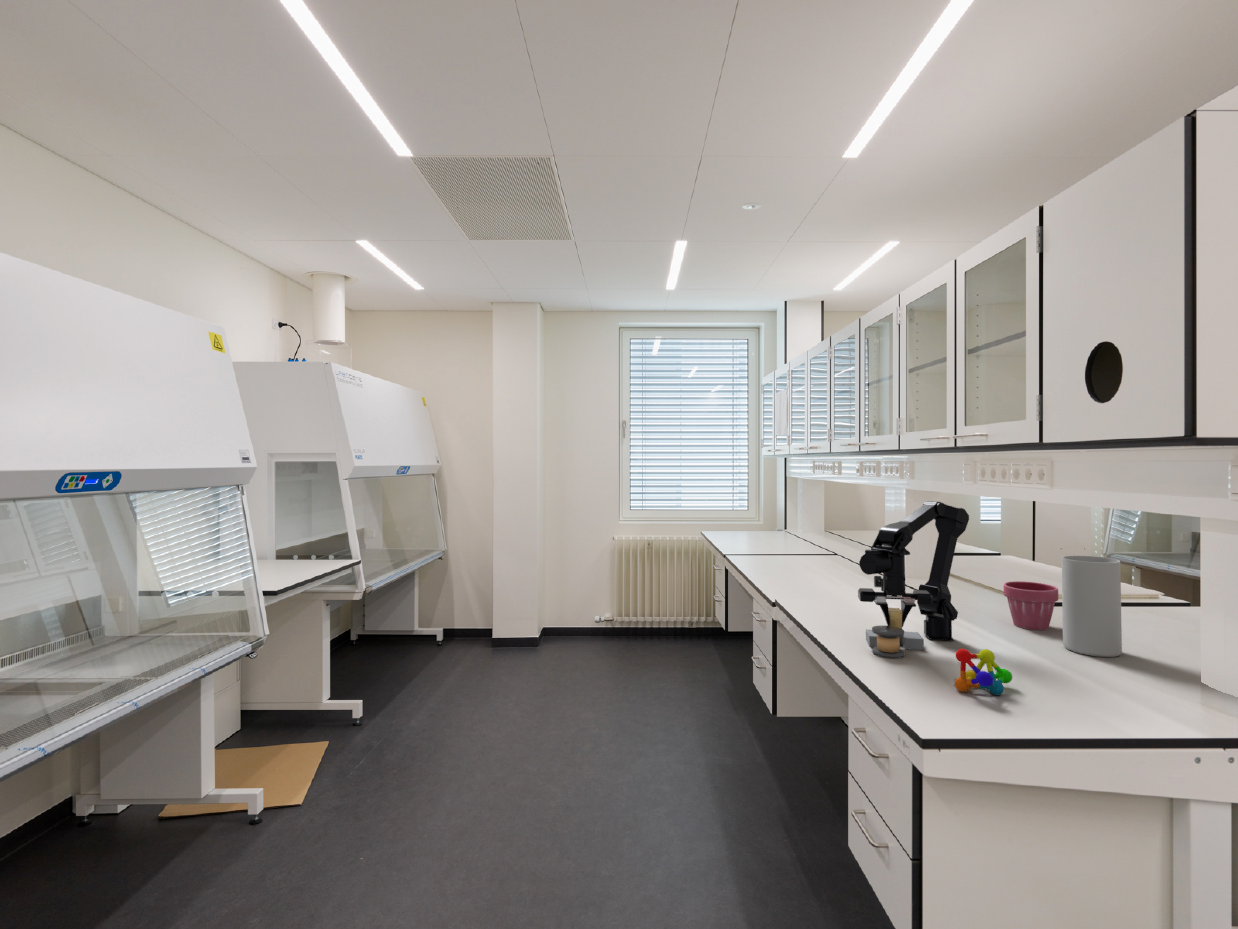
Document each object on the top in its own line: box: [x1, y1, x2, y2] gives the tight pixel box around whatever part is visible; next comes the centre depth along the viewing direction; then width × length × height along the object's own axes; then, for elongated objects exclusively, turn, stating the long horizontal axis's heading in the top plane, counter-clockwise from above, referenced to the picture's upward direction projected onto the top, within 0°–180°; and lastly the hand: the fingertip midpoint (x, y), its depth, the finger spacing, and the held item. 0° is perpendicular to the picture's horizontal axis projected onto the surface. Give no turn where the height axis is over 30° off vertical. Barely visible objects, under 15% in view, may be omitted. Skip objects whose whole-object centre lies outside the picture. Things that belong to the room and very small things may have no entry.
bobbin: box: [871, 625, 906, 660], centre depth 160 cm, size 8×8×7 cm
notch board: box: [865, 628, 925, 651], centre depth 168 cm, size 14×7×3 cm, turn 75°
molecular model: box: [954, 648, 1013, 696], centre depth 134 cm, size 11×10×15 cm
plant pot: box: [1003, 580, 1059, 631], centre depth 185 cm, size 14×14×13 cm
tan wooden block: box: [888, 607, 903, 629], centre depth 166 cm, size 3×4×6 cm
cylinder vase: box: [1061, 555, 1123, 658], centre depth 160 cm, size 12×12×25 cm
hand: (894, 626), depth 166 cm, fingers closed on tan wooden block, 3 cm apart
